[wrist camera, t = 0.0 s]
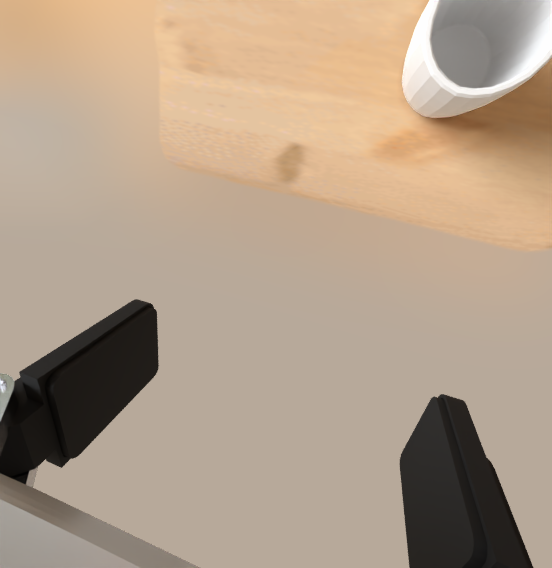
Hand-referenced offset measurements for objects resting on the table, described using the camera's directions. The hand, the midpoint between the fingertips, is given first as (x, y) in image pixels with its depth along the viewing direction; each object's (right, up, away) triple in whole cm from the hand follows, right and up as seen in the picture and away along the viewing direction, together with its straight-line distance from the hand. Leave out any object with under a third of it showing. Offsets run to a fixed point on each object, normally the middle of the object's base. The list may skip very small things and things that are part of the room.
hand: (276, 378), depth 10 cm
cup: (+17, +24, +20) cm, 35 cm away
